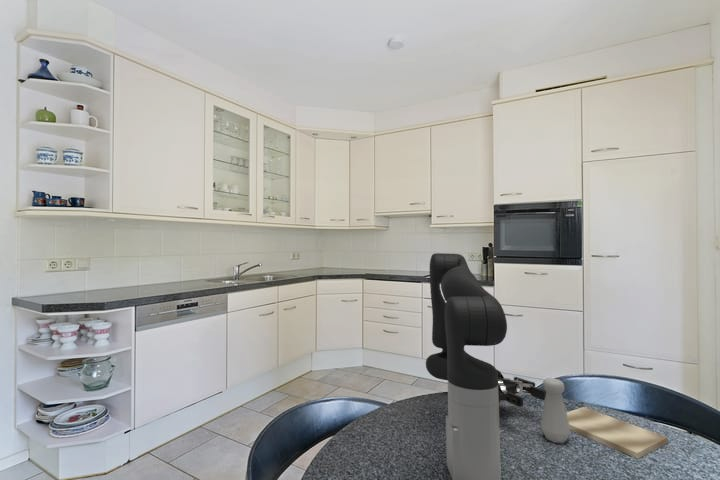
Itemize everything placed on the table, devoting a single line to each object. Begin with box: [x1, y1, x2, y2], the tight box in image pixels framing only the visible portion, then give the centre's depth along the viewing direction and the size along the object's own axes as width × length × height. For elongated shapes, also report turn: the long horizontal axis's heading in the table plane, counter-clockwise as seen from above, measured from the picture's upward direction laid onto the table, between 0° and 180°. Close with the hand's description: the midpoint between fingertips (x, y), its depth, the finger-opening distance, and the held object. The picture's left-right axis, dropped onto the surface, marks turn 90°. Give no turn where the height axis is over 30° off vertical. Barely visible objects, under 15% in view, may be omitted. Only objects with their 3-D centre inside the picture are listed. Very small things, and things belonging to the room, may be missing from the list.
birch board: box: [566, 406, 669, 460], centre depth 81 cm, size 18×13×1 cm
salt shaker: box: [540, 377, 571, 444], centre depth 78 cm, size 6×6×13 cm
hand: (534, 399), depth 83 cm, fingers open, 8 cm apart
